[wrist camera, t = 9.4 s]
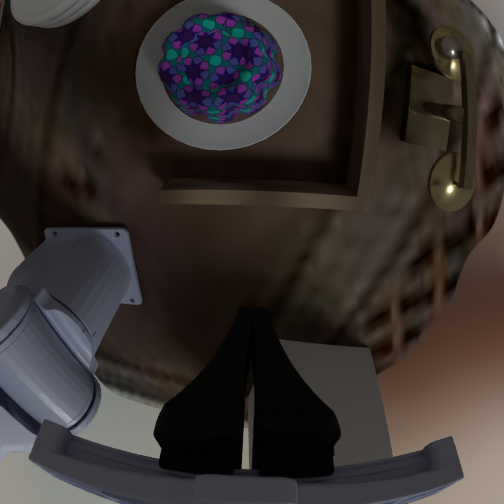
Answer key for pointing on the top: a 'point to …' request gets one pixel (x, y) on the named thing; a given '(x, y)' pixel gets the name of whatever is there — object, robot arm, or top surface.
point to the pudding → (222, 71)
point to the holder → (361, 149)
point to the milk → (342, 398)
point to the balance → (444, 116)
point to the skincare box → (1, 9)
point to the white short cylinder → (49, 11)
